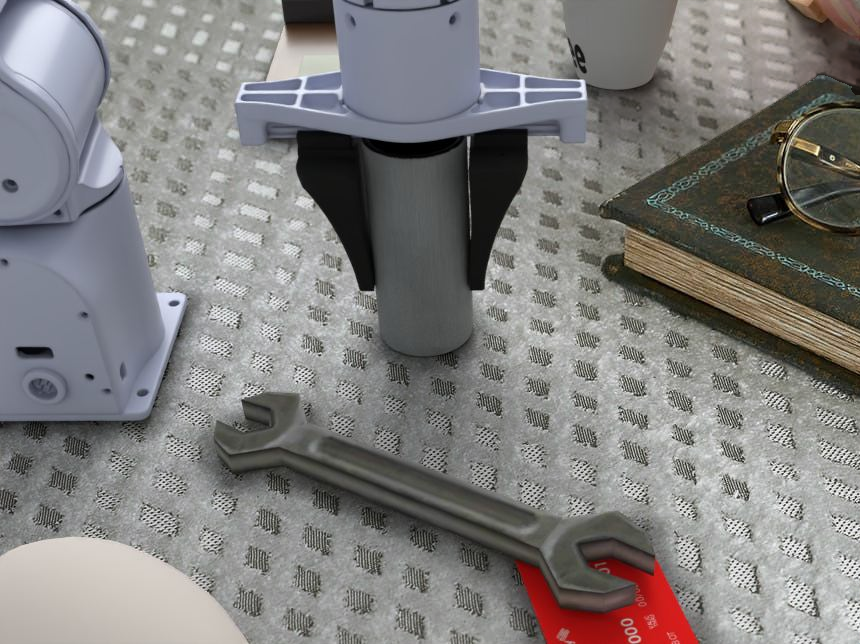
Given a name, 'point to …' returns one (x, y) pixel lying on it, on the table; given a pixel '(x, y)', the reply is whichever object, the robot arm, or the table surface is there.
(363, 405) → the table surface
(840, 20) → the planter
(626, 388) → the table surface
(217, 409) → the table surface
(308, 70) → the box with green square
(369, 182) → the grey hollow cylinder
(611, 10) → the cup
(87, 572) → the egg
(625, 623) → the credit card
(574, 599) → the wrench
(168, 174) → the table surface
